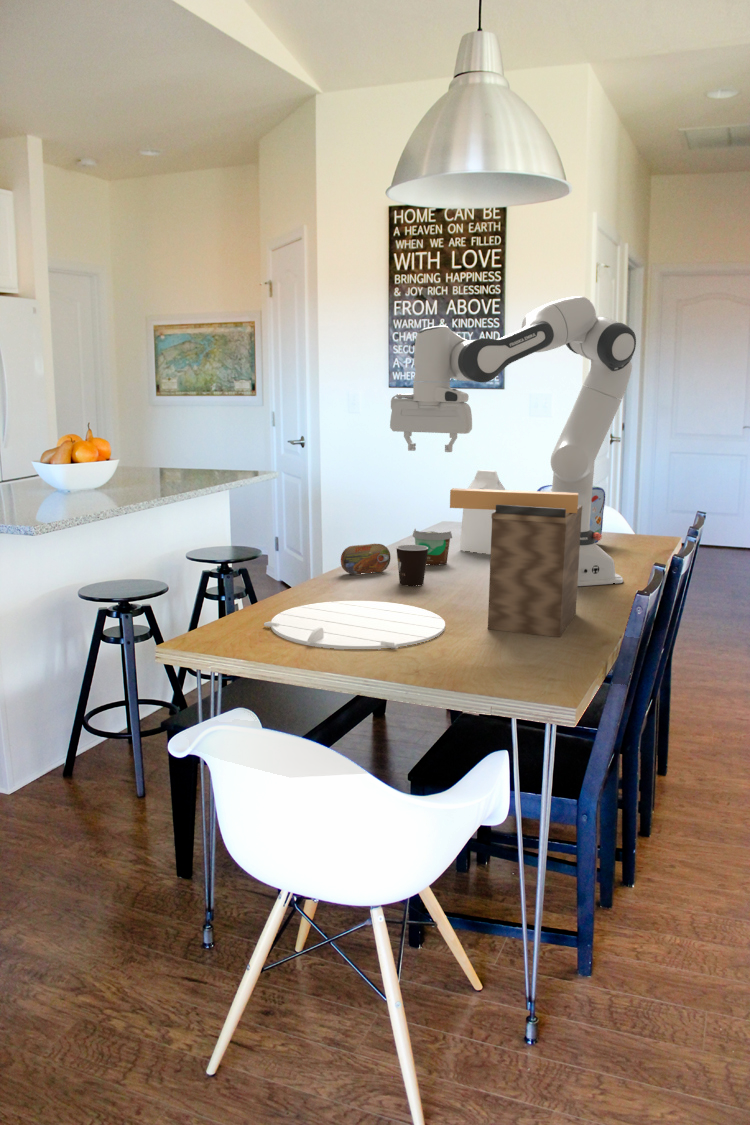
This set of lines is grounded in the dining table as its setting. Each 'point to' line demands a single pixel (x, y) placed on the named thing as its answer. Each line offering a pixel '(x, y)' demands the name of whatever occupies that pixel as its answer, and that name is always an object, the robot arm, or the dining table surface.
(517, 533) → the walnut stand
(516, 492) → the orange block
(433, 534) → the food container
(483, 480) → the milk
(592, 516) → the lunch box
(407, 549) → the coffee mug
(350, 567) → the tin
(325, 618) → the lazy susan
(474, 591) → the dining table surface
